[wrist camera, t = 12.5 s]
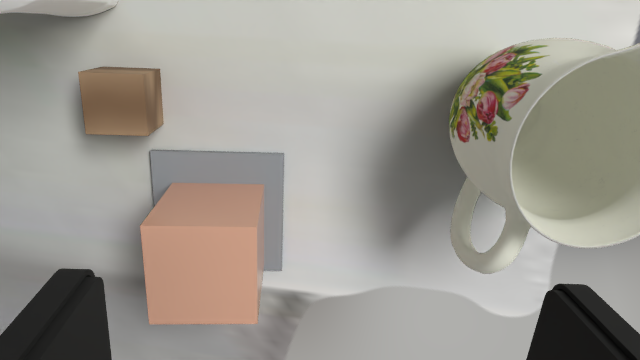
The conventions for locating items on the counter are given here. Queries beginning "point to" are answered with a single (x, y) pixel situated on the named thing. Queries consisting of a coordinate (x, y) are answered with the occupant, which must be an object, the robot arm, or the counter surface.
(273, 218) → the mat
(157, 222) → the salmon pink block
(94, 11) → the jar
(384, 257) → the counter surface
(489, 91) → the pitcher
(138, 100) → the block
